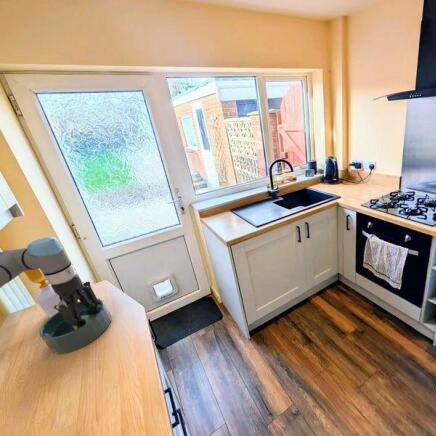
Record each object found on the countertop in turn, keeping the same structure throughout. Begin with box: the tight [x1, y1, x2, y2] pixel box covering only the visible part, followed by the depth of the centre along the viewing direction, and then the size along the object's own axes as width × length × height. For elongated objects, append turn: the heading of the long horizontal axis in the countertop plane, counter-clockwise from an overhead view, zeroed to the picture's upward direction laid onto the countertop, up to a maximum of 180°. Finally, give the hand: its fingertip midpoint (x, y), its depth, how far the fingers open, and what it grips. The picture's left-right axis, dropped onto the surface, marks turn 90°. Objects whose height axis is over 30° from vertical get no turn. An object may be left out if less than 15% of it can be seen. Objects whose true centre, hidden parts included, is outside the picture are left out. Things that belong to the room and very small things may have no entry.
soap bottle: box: [23, 269, 68, 319], centre depth 104 cm, size 9×9×25 cm
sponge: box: [72, 315, 96, 330], centre depth 95 cm, size 7×4×4 cm, turn 90°
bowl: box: [39, 298, 112, 354], centre depth 95 cm, size 19×19×8 cm
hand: (92, 326), depth 96 cm, fingers closed on sponge, 4 cm apart
